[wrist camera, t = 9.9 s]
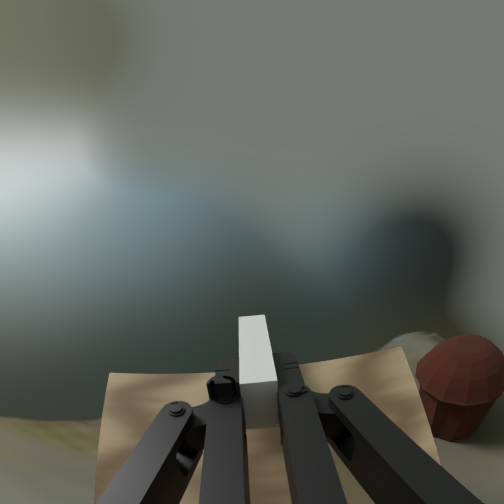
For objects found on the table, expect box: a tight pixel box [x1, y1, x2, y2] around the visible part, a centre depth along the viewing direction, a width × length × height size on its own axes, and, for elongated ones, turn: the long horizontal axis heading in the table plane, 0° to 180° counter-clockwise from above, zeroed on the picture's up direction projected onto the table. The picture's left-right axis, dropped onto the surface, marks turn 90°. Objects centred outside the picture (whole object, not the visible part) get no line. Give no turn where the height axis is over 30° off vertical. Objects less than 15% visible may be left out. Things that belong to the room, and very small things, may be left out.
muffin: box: [415, 334, 504, 442], centre depth 24 cm, size 12×11×10 cm
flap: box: [95, 346, 441, 504], centre depth 13 cm, size 19×1×10 cm
